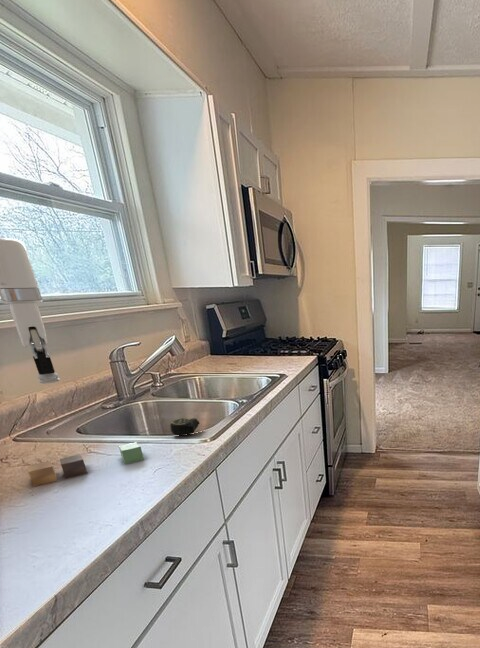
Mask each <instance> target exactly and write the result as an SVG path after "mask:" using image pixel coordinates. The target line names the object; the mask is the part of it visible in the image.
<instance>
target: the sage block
mask: <svg viewBox="0 0 480 648" xmlns="http://www.w3.org/2000/svg"><path fill="white" fill-rule="evenodd" d="M118 449H119V453H120V456H121V459H122V461H123V463H124V464H125V465H127V464H131V463H132V464H133V463H136V462H139V461H140V462H141V461H144V460H145V458H144V454H143V451H142V447H141V444H140V443H139V442H138V441H135V442H131V443H126V444H122V445H121V444H120V445H118Z"/></svg>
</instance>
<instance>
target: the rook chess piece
mask: <svg viewBox="0 0 480 648" xmlns="http://www.w3.org/2000/svg"><path fill="white" fill-rule="evenodd" d="M47 353H48V355H49V356H50V353H49V352H47ZM36 355H37V354H36ZM33 356H34V354H33V353H32V357H33ZM37 358H38V357H37ZM37 374H38V375H37V379H38V383H39V384H45V385H47V384H54V383H58V382H60V380H61V378H60V377H59V373H57V372H55V373H51V374H43V375H40V374H39V373H38V372H37Z"/></svg>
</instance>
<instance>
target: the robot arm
mask: <svg viewBox="0 0 480 648" xmlns="http://www.w3.org/2000/svg"><path fill="white" fill-rule="evenodd" d="M29 256H30V255H29V254H28V250H27V248H26V246H25V244H24V243H23V241H21V240H18V239H16V238H15V239H14V238H6V237H0V300H1V303H2V304H6V305H9V310H10V313H11V316H12V319H13V322H14V325H15V328H16V331H17V334H18V337H19V339H20V342H21V345H22V346H23V347H25V348H26V347H27V345H29V346H30V349H31V352H32V359H33V361H34V364H35V367H36V370H37V374H38V373H39V374H40V375H43V374H51V373H56V371H55V368H54V364H53V362H52V359H51V357H50V354H49V355H48V353H49V352H48V350H47V347H46V346H47V345H48V343H49V342H48V337H47V332H46V328H45V325H44V321H43V318H42V315H41V311H40V308H39V303H44V301H43V300H44V299H43V298H42V295H41V291H40V288H39V285H38V281H37V279H36V276H35V272H34V268H33V266H32V263H31V260H30V257H29ZM33 354H34V356H33ZM36 354H37V355H36ZM37 357H38V358H37ZM39 374H38V375H39Z"/></svg>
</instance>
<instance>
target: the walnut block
mask: <svg viewBox="0 0 480 648" xmlns="http://www.w3.org/2000/svg"><path fill="white" fill-rule="evenodd" d="M59 463H60V466H61V468H62V472H63V475H64V477H65V479H70V478H75V477H78V476H79V477H80V476H82V475H86V474H88V470H87V467H86V463H85V461H84V458H83V455H82V453H81V454H76V455H71V456H67V457H61V458H59Z"/></svg>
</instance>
